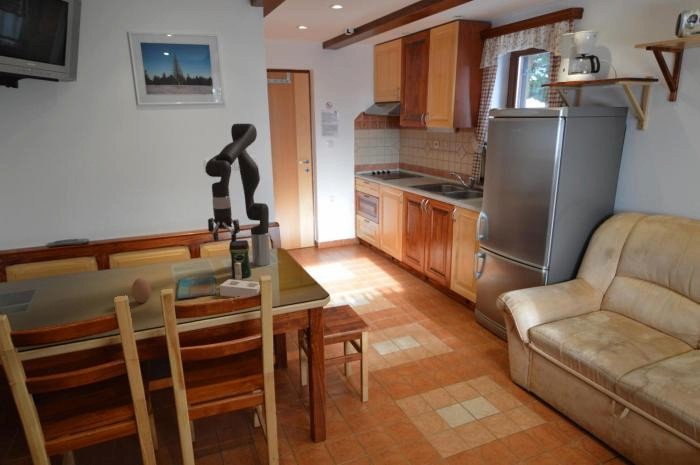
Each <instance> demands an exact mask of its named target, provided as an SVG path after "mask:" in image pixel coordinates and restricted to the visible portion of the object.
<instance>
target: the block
mask: <svg viewBox="0 0 700 465" xmlns="http://www.w3.org/2000/svg"><path fill="white" fill-rule="evenodd" d="M259 290H260V285H259V281H253V280H251V281H241V280H234V279H231V278H230V279H227V280H226V281H224V282H223V283H221V284H220V285H219V293H220V294H219V295H220V296H224V297H232V298H238V297H237V296H242V295H249V294H255V293H258V292H259Z"/></svg>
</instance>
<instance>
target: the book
mask: <svg viewBox="0 0 700 465" xmlns="http://www.w3.org/2000/svg"><path fill="white" fill-rule="evenodd" d="M177 280H178V281H177V288H176V289H177V290H176V292H177V294H176V300H177V301H179V302H181V301H188V300H195V299H196V298H197V299H198V298H203V297H211V296H217V282H216V277H215V276H214V275H207V276H201V277H195V278H180V279H177Z"/></svg>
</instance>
